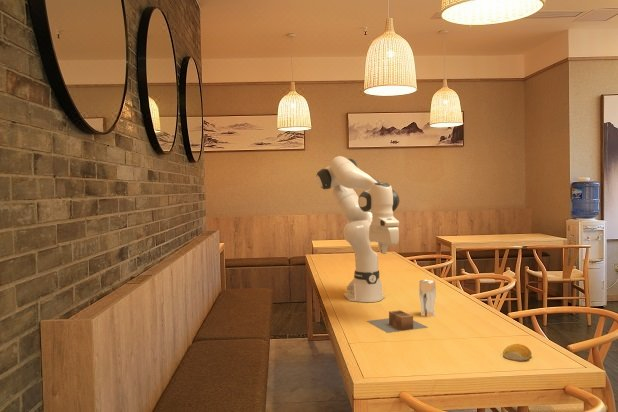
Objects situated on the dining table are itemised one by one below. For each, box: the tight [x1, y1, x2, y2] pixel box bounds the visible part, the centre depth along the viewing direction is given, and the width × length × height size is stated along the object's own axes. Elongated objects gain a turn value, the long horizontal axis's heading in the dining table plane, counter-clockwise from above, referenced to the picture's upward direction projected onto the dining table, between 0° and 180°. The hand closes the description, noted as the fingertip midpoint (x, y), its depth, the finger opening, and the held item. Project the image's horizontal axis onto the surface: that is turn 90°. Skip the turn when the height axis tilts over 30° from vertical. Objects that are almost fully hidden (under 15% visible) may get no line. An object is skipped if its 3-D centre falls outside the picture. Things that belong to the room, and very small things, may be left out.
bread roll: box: [502, 343, 532, 362], centre depth 166 cm, size 8×9×4 cm
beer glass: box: [418, 279, 437, 318], centre depth 217 cm, size 7×7×15 cm
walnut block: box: [388, 309, 414, 331], centre depth 201 cm, size 5×5×10 cm
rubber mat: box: [366, 317, 429, 334], centre depth 204 cm, size 18×18×1 cm
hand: (383, 253), depth 217 cm, fingers closed
